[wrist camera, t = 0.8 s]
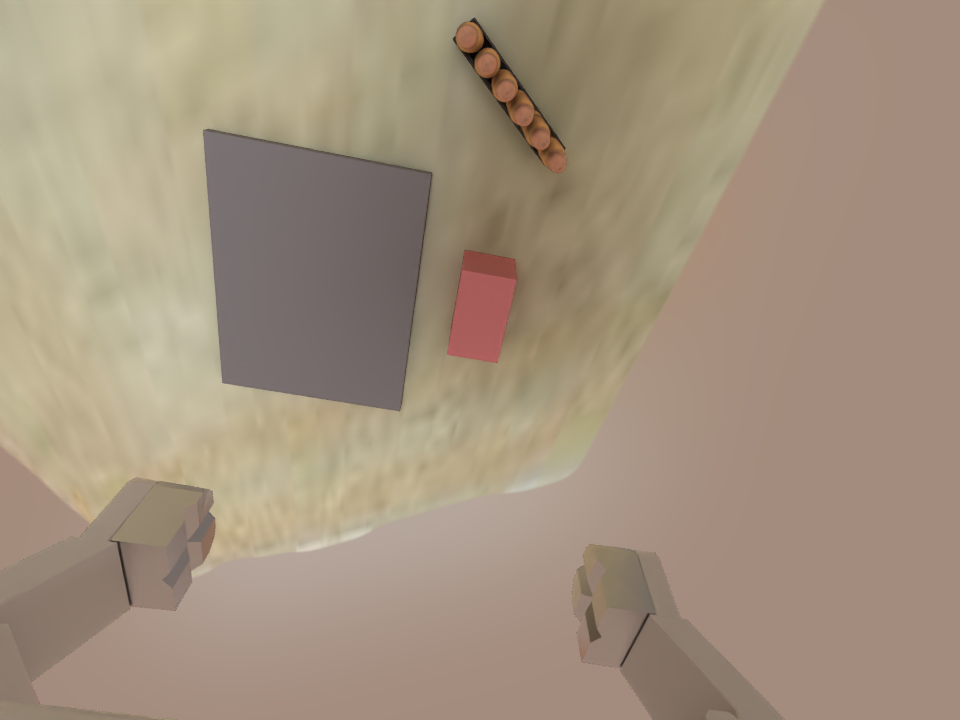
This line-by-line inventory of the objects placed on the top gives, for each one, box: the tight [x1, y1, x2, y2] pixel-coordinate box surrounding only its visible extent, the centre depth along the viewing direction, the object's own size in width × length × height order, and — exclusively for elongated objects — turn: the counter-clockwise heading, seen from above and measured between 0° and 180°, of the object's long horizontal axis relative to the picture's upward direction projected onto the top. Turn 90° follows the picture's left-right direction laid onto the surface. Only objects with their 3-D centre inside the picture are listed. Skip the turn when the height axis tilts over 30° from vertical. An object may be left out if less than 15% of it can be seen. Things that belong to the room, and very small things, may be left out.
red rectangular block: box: [447, 250, 517, 363], centre depth 47 cm, size 8×4×5 cm, turn 170°
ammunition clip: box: [453, 18, 566, 173], centre depth 35 cm, size 11×2×12 cm, turn 39°
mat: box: [203, 129, 432, 411], centre depth 48 cm, size 24×18×1 cm
